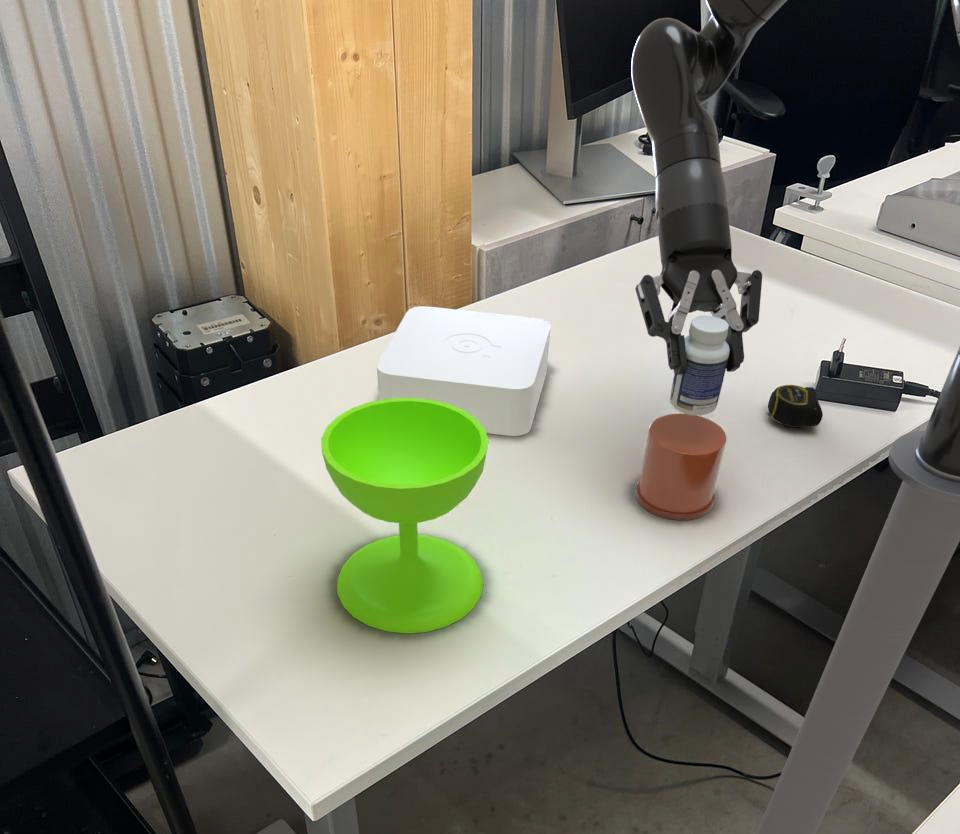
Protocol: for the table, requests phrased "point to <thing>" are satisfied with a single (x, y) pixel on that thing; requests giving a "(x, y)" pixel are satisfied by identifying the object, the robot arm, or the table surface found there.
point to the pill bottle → (702, 367)
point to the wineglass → (407, 509)
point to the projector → (469, 364)
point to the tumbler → (680, 466)
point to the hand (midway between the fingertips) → (707, 370)
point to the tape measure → (795, 406)
